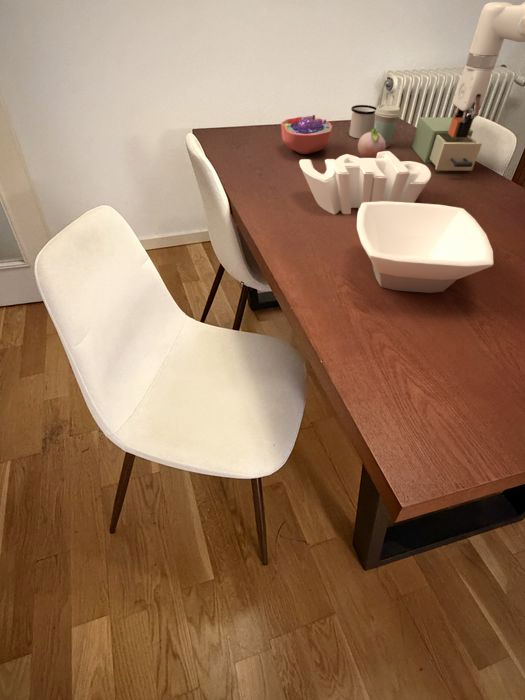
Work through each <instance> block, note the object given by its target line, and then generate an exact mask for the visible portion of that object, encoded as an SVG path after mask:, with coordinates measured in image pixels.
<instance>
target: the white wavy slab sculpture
mask: <svg viewBox="0 0 525 700" xmlns="http://www.w3.org/2000/svg"><path fill="white" fill-rule="evenodd" d="M324 164H325V168H326V169H325V172H324V173H321V172H318V170H316V169H315V168H314V165H313V162H312V160H311V159H310V158H309V159H307V158H303V159H300V160H299V167H300V168H301V169H300V170H301V172H302V173H303V176H304V179H305V180H306V183H307V186H308V187H309V189H310V192H311V194H312V196H313V199H314V201H315V202H316V204H317V205H318V206H319V207H320V208H321V209H323V210H324V211H326V212H327V213H329V214H331V215H336V214H338V213H339V212H341V214H342V215H351V214H352V209H353V208H355V209H356V208H357V209H359V208H360V206H361V204H362V203H364V202H380V201H388V202H406V203H416V201H417V199H418V198H419V196H420V194H421V193H422V192H423V190H424V188H425V187H426V185H427V184H428V182H429V181H430V179H431V177H432V172H431V170H430V169H429V167H428V166H427V165H426V164H424V163H420V162H417V161H413V160H412V161H411V160H403V161H402V160H400V159H399V158H398V157H397V156H396V155H395V154H394V153H393V152H391V151H390V150H384V151H382V152H378V153H377V157H376V158H363V157H358V156H356V155H352V154H349V153H346V154H342V155H340V156H338V157H337V158H336V159H335V158H326V159H324Z"/></svg>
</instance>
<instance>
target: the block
mask: <svg viewBox="0 0 525 700" xmlns="http://www.w3.org/2000/svg"><path fill="white" fill-rule="evenodd" d="M462 119H463V117H454V116H453V118H452V121H451V124H450V128H449V131H448V134H449V135H450V136H451V137H453V138H467V137H468V135H467V137H456V134H457V131H458V128H459V124H460V122H462ZM472 124H473V122H472V123H471V126H470V129H471V127H472ZM470 129H469V131H470ZM468 134H469V132H468Z"/></svg>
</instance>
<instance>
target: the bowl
mask: <svg viewBox="0 0 525 700" xmlns="http://www.w3.org/2000/svg"><path fill="white" fill-rule="evenodd" d="M356 230H357V231H356V232H357V234H358V238H359V241H360V244H361V246H362V248H363V250H364V251H365V253H366V255H367V256H368V258H369V259H370V261H371V265H372V270H373V274H374V277H375V279H376V281H377V283H378V284H379V286H380V287H381V288H382V289H388V290H392V291H401V292H412V293H425V294H426V293H427V294H433V293H443V292H444V291H445V290H447V289H448V288H449V287H451V285H453V284H454V283H455V282H457V280H460V279H462V278H465V277H467V276H470V275H473V274H476V273H478V272H480V271H483V270H485V269H488V268H491V267H493V265H494V249H493V248H492V245H491V243H490V241H489V238H488V235H487V233H486V232H485V231H484V229H483V227H481V226H480V224H479V223H478V221H477V220H476V219H475V217H473V216H472V215H471V214H470V213H469V212H468V211H467V210H465V208H462V207H457V206H450V205H443V204H437V203H436V204H433V203H419V202H414V203H406V202H388V201H380V202H364V203H362V204H361V206H360V208H358V211H357V217H356Z"/></svg>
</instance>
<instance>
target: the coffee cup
mask: <svg viewBox="0 0 525 700" xmlns="http://www.w3.org/2000/svg"><path fill="white" fill-rule="evenodd" d="M376 108H377V109H376V110H375V119H374V125H373V130H375V129H376V130H377V131H378V133H380V134H381V136H382V137H383V138H384V140H385V149H387V148H389V147H390V145H391V142H392V139H393V136H394V132H395V129H396V127H397V123H398V120H399V117H400V116H401V107H400V106H399V105H394V104H379V105H377V106H376Z"/></svg>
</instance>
